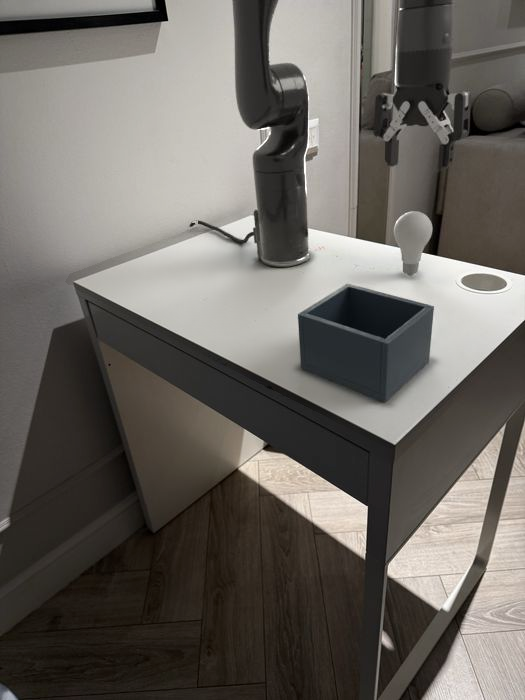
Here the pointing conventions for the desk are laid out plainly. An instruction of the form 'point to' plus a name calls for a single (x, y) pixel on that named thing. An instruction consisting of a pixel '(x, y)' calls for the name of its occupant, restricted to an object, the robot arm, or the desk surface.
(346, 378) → the bin
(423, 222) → the lightbulb
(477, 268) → the desk surface
